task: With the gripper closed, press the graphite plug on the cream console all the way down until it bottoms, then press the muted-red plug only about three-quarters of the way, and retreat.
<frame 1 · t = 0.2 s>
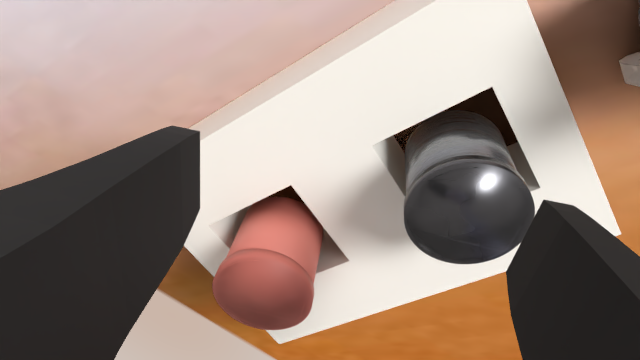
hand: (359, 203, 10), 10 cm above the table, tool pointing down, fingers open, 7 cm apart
red plug: (273, 260, 19), point 5 cm above the table, slide at 0.0 cm
console: (364, 162, 21), on the table
graphite plug: (459, 182, 15), point 5 cm above the table, slide at 0.0 cm
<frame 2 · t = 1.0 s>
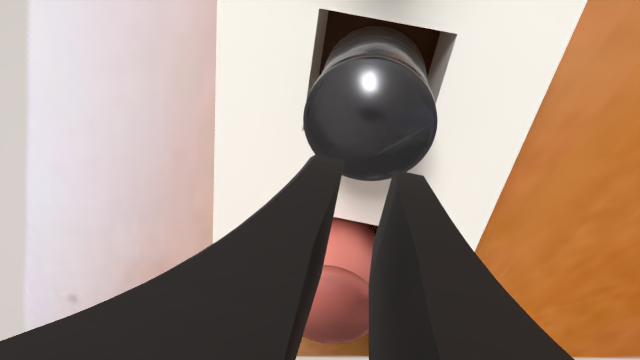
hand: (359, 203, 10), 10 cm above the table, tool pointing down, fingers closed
red plug: (332, 274, 19), point 5 cm above the table, slide at 0.0 cm
console: (358, 141, 21), on the table
graphite plug: (371, 98, 15), point 5 cm above the table, slide at 0.0 cm
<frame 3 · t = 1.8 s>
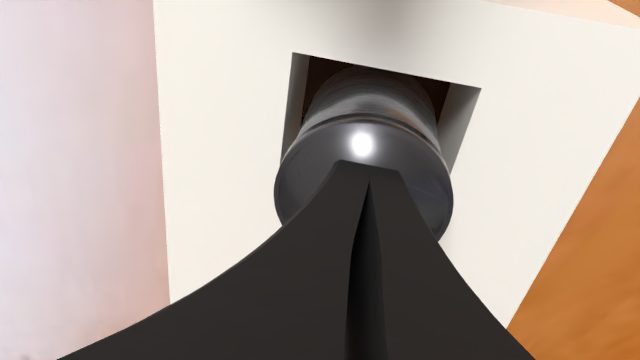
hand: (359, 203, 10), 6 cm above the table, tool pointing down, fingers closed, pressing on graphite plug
console: (350, 199, 17), on the table
graphite plug: (366, 159, 11), point 4 cm above the table, slide at 0.7 cm, touching gripper
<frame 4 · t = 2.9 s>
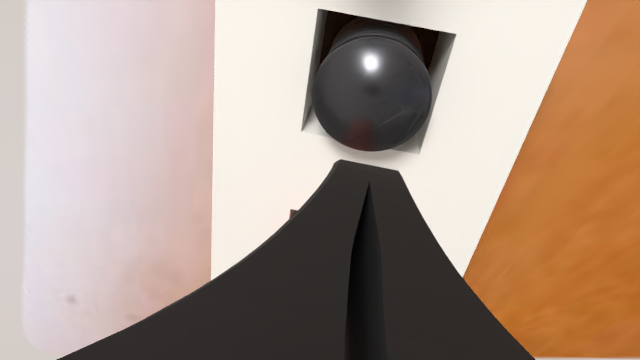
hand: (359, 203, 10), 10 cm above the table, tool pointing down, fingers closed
console: (357, 141, 20), on the table
graphite plug: (373, 78, 16), point 3 cm above the table, slide at 1.9 cm
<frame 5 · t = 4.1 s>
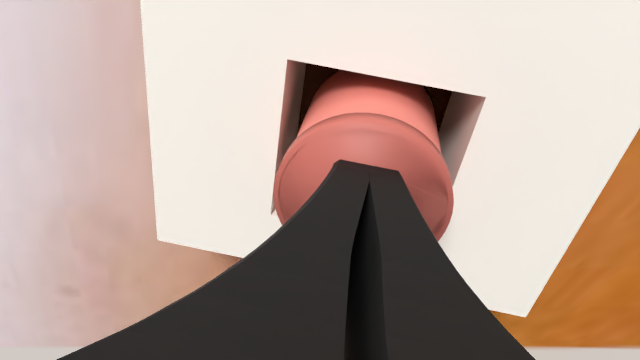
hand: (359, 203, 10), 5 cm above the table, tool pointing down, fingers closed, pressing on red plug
red plug: (366, 159, 11), point 3 cm above the table, slide at 1.3 cm, touching gripper
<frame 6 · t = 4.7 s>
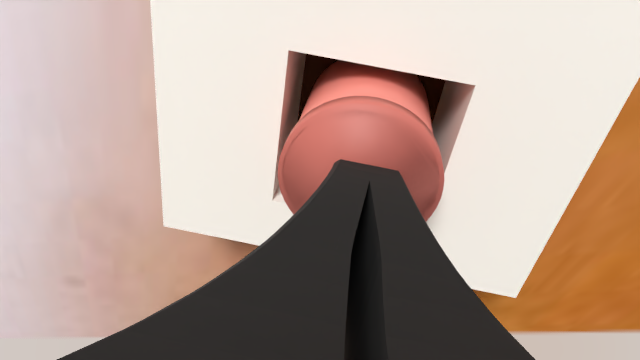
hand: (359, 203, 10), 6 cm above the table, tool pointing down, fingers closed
red plug: (363, 142, 12), point 3 cm above the table, slide at 1.4 cm
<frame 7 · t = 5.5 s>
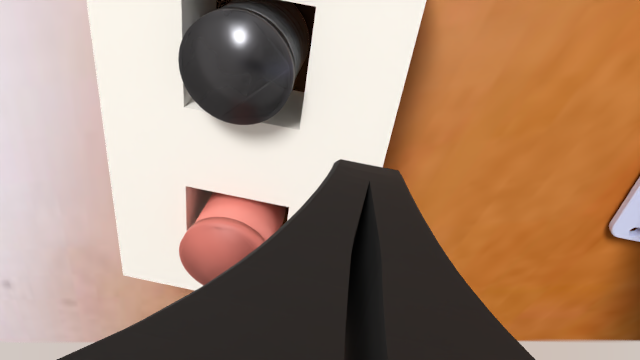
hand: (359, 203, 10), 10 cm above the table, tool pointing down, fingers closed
red plug: (237, 231, 20), point 3 cm above the table, slide at 1.4 cm
console: (261, 121, 21), on the table
graphite plug: (251, 53, 16), point 3 cm above the table, slide at 1.9 cm
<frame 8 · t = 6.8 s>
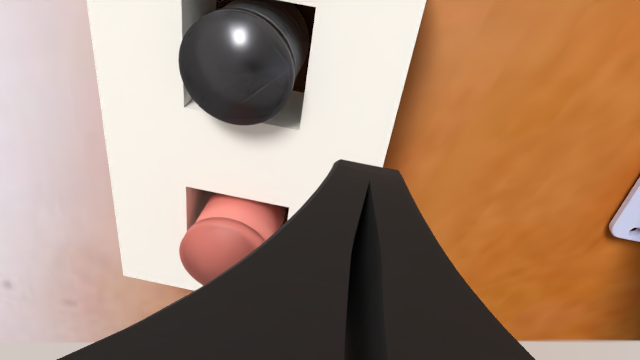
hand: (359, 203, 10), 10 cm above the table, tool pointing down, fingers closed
red plug: (237, 231, 20), point 3 cm above the table, slide at 1.4 cm
console: (261, 122, 21), on the table
graphite plug: (251, 54, 16), point 3 cm above the table, slide at 1.9 cm
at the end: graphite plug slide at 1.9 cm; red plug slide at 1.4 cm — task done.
